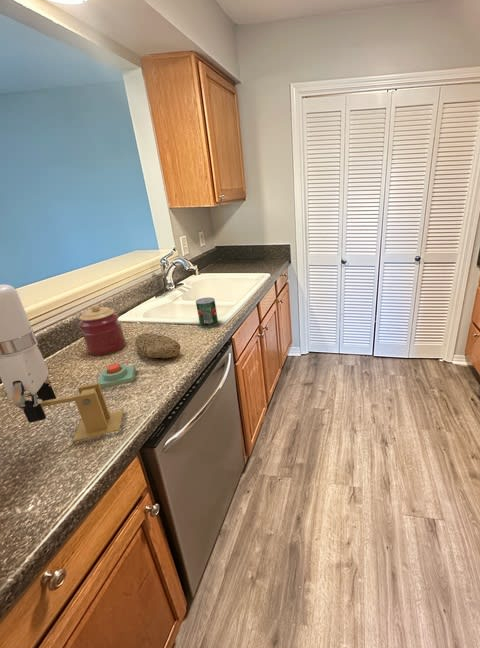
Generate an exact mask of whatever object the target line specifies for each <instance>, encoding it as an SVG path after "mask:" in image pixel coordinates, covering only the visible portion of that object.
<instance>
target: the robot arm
mask: <svg viewBox="0 0 480 648" xmlns="http://www.w3.org/2000/svg"><path fill="white" fill-rule="evenodd" d="M27 315H28V314H27V313H26V309H25V308H24V305H23V303H22V300H21V298H20V295H19V293H18V291H17V289H16V288H15V287H14V286H12V285H10V284H4V283H3V284H0V380H1V382H2V385H3V388H4V390H5V392H6V395H7V396H8V399H10V400H12V403H13V405H14V406H16V407H18V408H19V409H20V410H21V411H22V412H23V413H24V415H25V418H26V419H27V421H28V423H35V422H40V421H44V420H46V418H47V415H46V412H45V411H44V407H43V408H42V406H41V404H38V401H37V397H38V398H41V399H42V400H43V401H45V400H51V399H57V396H56V394H55V391H54V388H53V386H52V382H51V380H50V379H49V369H48V368H49V367H48V365H47V363H46V361H45V359H44V358H45V357H43V355H42V352H41V350H40V349H39V347H38V345H39V342H38V339H37V336H36V335H35V331H34V330H33V327H32V325H31V322H30V320H29V317H28V316H27ZM25 392H28V393H25ZM26 397H27V398H28V397H30V399H32V401H30V400H29V399H26Z"/></svg>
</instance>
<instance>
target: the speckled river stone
mask: <svg viewBox="0 0 480 648" xmlns="http://www.w3.org/2000/svg"><path fill="white" fill-rule="evenodd" d="M134 344H135V347H136V349H137V351H138V353H139V354H140V355H142V356H143V357H145V358H146V357H147V358H151V359H169V358H175V357H176V356H178V355H179V354H180V353H181V348H182V347H181V345H180V343H179V342H178V341H177V340H176V339H173V338H171V337H169V336H166V335H161V334H159V333H156V332H143V333H140V334H139V335H137V336H136V338H135V341H134Z"/></svg>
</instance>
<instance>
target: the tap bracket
mask: <svg viewBox="0 0 480 648" xmlns="http://www.w3.org/2000/svg"><path fill="white" fill-rule="evenodd" d="M93 388H95V389H96V391H92V392H87V393H83V394H81V392H82V390H87V389H93ZM77 390H78V392H79V394H74V395H75V396H74V395H73V396H74V400H75V401H74V402H75V405H76V407H77V411H78V412H79V416H80V418H81V420H80V421H79V424H78V426H77V428H76V431H75V434H74V436H73V439H72V442H78V441H81V440H85V439H90V438H95V437H97V436H101V435H105V434H110V433H113V432H118V431H120V429H121V424H122V419H123V415H124V409H123V410H122V409H121V410H117V411H114V412H113V411H112V412H110V410H109V407H108V404H107V402H106V399H105V398H106V397H105V395H104V392H103V390H102V388H101V387H100V384H99V382H97V381H96V382H92V383H88V384H83V385H79V386H78V388H77Z"/></svg>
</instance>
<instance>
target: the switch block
mask: <svg viewBox="0 0 480 648" xmlns="http://www.w3.org/2000/svg"><path fill="white" fill-rule="evenodd" d="M120 367H121V370H120V371H119V372H116V373H113V374H109V373H108V371H107V368H105V369H104V370H102V371H100V373H99V376H98V378H97V381H96V383H97V382H99V384H100V387H101V389H104V388H108V387H113V386H118V385H122V384H127V383H132V382H134V380H135V378H136V373H137V370H136V366H135V365H129V366H127V365H125V364H120Z"/></svg>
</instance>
